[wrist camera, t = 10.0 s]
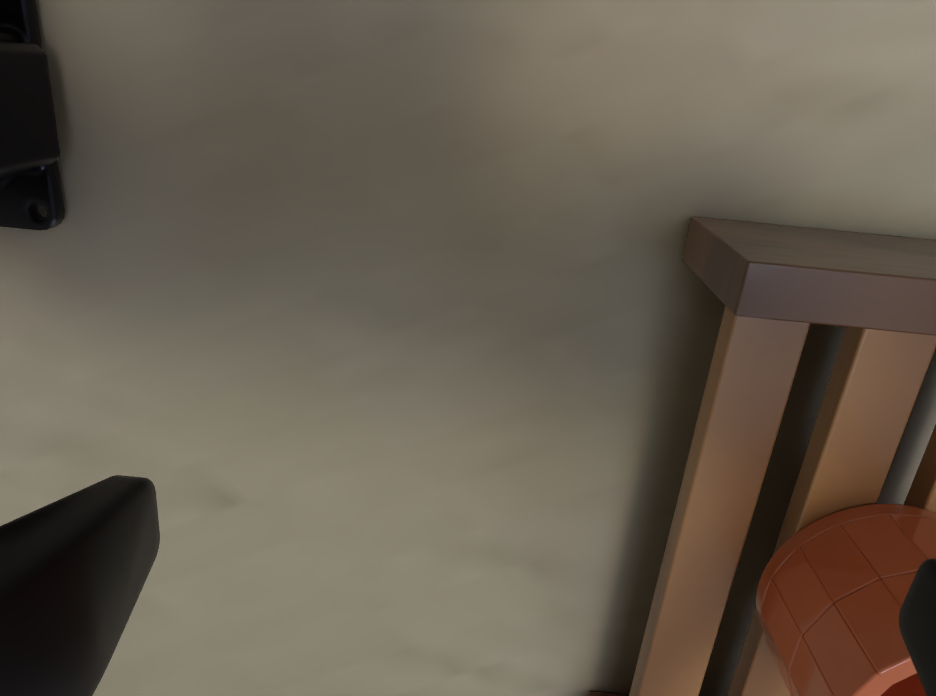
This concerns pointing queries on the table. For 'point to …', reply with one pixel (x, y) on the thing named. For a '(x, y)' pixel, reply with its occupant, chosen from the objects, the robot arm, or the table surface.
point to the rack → (761, 410)
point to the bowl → (846, 601)
